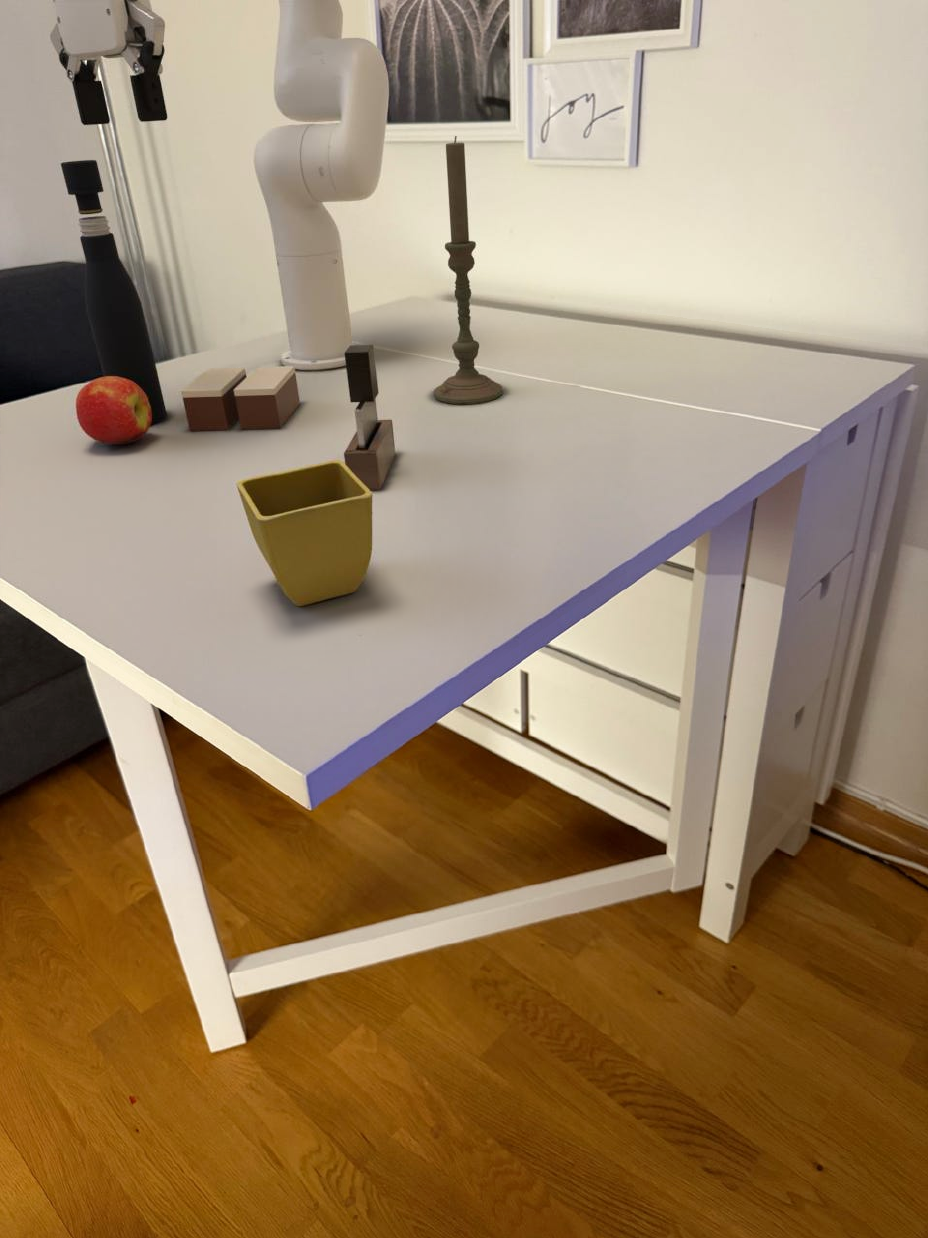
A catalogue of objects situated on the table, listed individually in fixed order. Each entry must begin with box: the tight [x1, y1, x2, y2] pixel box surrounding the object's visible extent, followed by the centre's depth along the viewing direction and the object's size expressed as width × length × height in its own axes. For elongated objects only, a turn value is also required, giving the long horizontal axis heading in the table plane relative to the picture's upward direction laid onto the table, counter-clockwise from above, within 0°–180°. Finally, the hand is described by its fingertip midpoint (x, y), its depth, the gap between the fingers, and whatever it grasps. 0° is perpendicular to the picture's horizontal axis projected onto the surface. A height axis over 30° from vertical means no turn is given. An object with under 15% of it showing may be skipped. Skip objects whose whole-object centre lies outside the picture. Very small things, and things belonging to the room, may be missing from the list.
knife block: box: [343, 419, 396, 491], centre depth 95 cm, size 10×3×4 cm, turn 175°
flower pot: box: [235, 459, 373, 607], centre depth 71 cm, size 9×9×9 cm
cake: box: [180, 367, 247, 432], centre depth 114 cm, size 10×5×5 cm, turn 175°
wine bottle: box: [60, 159, 168, 426], centre depth 109 cm, size 6×6×30 cm
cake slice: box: [234, 365, 301, 431], centre depth 114 cm, size 10×5×5 cm, turn 175°
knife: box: [345, 344, 379, 450], centre depth 93 cm, size 8×2×13 cm, turn 175°
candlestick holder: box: [433, 135, 504, 405], centre depth 111 cm, size 9×9×30 cm
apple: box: [75, 376, 152, 446], centre depth 107 cm, size 8×8×8 cm
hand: (124, 122), depth 94 cm, fingers open, 9 cm apart
